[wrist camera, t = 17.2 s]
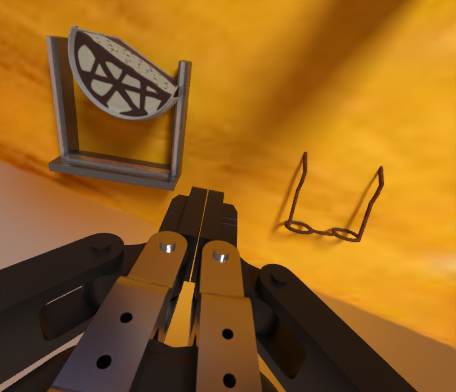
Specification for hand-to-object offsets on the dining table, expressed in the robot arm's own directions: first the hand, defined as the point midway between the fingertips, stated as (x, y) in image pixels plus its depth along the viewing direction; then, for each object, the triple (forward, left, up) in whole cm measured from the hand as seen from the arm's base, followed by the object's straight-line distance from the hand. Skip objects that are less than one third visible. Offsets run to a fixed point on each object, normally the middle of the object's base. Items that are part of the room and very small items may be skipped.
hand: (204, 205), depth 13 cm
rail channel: (+4, -14, -30) cm, 33 cm away
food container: (-1, -12, -30) cm, 32 cm away
